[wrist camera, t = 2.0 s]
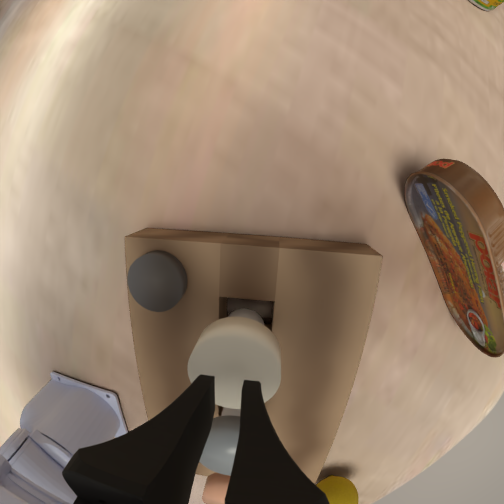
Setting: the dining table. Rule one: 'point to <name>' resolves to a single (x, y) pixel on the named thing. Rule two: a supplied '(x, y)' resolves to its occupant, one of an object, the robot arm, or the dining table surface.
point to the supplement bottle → (487, 4)
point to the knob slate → (222, 442)
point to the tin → (463, 246)
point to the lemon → (339, 490)
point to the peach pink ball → (215, 488)
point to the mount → (283, 324)
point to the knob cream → (237, 357)
